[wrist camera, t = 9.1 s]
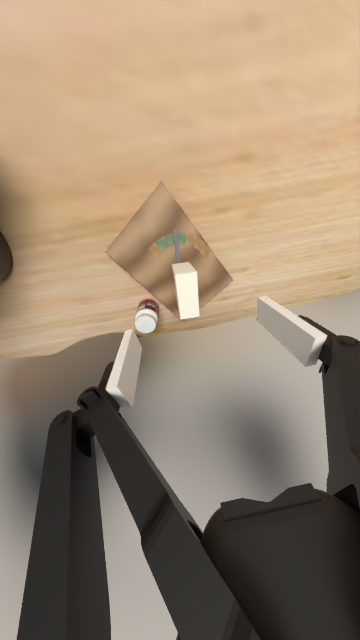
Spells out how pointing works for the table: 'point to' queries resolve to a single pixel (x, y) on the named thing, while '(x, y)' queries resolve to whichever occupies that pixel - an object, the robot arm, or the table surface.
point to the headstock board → (166, 250)
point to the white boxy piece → (185, 285)
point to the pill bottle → (146, 315)
